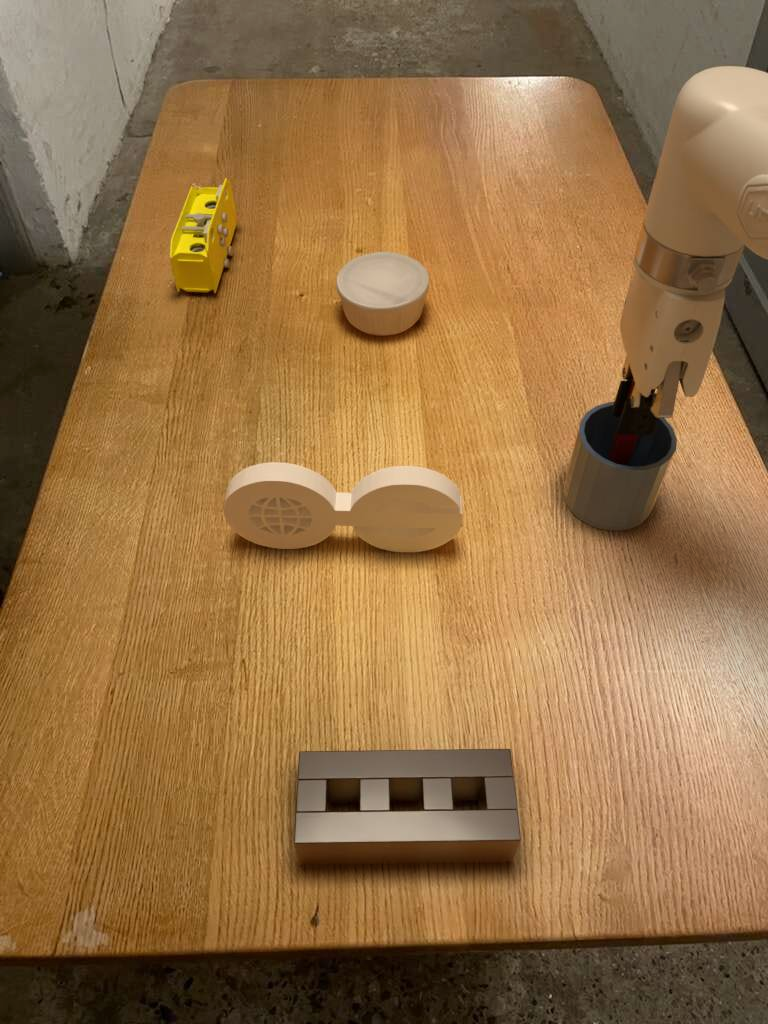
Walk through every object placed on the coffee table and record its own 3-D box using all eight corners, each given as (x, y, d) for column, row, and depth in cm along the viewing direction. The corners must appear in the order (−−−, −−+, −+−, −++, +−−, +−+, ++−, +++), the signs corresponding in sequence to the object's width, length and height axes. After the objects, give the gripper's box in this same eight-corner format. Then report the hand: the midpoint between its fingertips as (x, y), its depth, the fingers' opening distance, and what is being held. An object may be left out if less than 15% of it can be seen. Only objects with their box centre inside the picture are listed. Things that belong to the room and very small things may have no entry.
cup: (669, 516, 84) (696, 455, 77) (591, 541, 82) (610, 481, 75) (622, 454, 89) (643, 392, 82) (547, 477, 87) (562, 415, 80)
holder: (512, 862, 63) (521, 840, 59) (299, 864, 63) (293, 843, 59) (503, 773, 67) (510, 748, 63) (303, 776, 67) (298, 750, 63)
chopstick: (619, 489, 83) (656, 384, 72) (603, 489, 83) (638, 384, 72) (616, 477, 84) (652, 372, 73) (600, 477, 84) (634, 372, 73)
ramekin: (337, 343, 100) (335, 307, 96) (338, 287, 108) (336, 251, 103) (430, 342, 101) (432, 306, 97) (424, 286, 108) (426, 250, 104)
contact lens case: (231, 547, 81) (216, 479, 73) (235, 529, 83) (219, 460, 75) (458, 553, 81) (466, 485, 73) (457, 535, 82) (465, 467, 74)
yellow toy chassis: (220, 298, 106) (210, 240, 100) (176, 296, 106) (162, 238, 100) (241, 227, 116) (232, 170, 110) (200, 226, 116) (189, 169, 110)
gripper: (769, 314, 58) (692, 487, 72) (710, 194, 68) (653, 367, 82) (661, 315, 58) (606, 488, 72) (618, 194, 68) (577, 367, 82)
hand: (631, 422), depth 77 cm, fingers closed on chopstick
